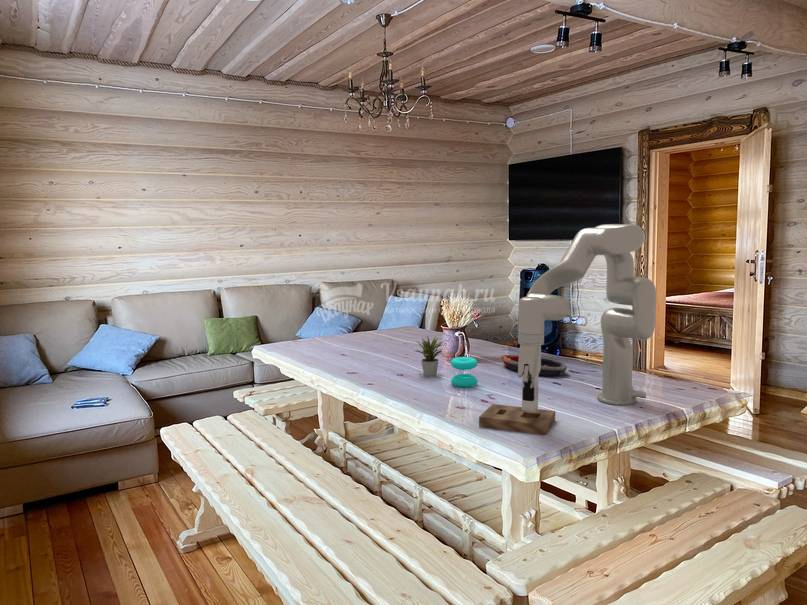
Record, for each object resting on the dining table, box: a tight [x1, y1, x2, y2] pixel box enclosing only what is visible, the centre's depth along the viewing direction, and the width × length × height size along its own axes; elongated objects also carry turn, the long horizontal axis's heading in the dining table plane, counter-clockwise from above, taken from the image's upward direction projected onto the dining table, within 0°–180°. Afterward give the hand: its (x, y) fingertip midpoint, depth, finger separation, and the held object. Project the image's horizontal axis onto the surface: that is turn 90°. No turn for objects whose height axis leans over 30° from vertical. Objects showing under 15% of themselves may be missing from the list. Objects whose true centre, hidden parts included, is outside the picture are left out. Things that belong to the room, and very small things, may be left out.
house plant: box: [413, 335, 447, 377], centre depth 242 cm, size 14×14×16 cm
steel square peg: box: [521, 372, 540, 411], centre depth 180 cm, size 4×4×11 cm
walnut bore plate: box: [478, 403, 556, 436], centre depth 183 cm, size 20×14×3 cm
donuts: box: [450, 356, 478, 388], centre depth 228 cm, size 10×10×10 cm
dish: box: [501, 354, 568, 377], centre depth 248 cm, size 16×31×5 cm, turn 40°
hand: (530, 397), depth 180 cm, fingers closed on steel square peg, 4 cm apart
